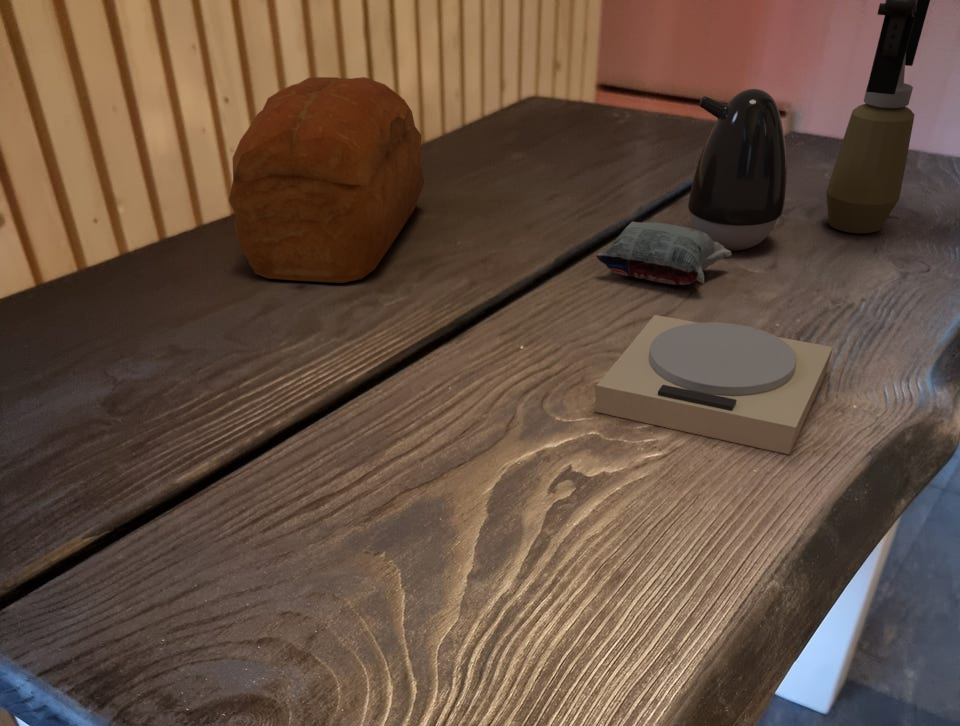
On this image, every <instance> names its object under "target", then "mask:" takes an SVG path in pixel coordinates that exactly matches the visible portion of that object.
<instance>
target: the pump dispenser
mask: <svg viewBox="0 0 960 726" xmlns="http://www.w3.org/2000/svg"><path fill="white" fill-rule="evenodd" d="M699 107H700V108H701V109H703V110H705V111H706V112H707V113H709V114H710V115H712V116H714V117H715V118H717V120H716V122H715V124H714V125H713V127H712V129H711V131H710V133H709V135H708V138H707V139H706V142H705V144H704V147H703V149H702V151H701V154H700V157H699V160H698V163H697V166H696V169H695V173H694V176H693V180H692V184H691V188H690V192H689V196H688V204H687V205H688V207H687V209H688V211H689V212H690V220H691V224H692V227H693V228H692V229H695V230H698V231H700V232H703V233H706V234H708V236H709V237H710V238H711V239H712V241H713V242H718V243H719V244H721V245H722V246H724V248H725V249H727V250H729V251H731V252H732V251H735V252H736V251H742V250H743V251H744V250H747V249H750V248H753V247H755V246H756V245H759V244H760V243H762V242H763V241H764V240H765V239H766V238H767V237H768V236H769V235H770V234H771V232H772V231H773V229H774V227H775V226H776V224H777V221H778V219H779V218H780V217H781V216H782V215H783V211H784V207H785V202H786V201H785V200H786V189H787V174H788V172H787V171H788V169H787V165H788V164H787V163H788V162H787V161H788V160H787V147H786V140H785V139H786V138H785V131H784V126H783V121H782V118H781V113H780V110H779V108H778V104H777V102H776V101H775V99H774V98H773V96H771V94H769V92H767V91H764V90H762V89H759V88H748V89H745V90H742V91H740V92H738V93H737V94H736V95H734V96H733V97H732V98H731V99H730V101H729V102H728V103H727V104H725V103H724V102H720V101H718V100H716V99H714V98H712V97H708V96H707V95H704V96H702V97H701V99H700V102H699Z"/></svg>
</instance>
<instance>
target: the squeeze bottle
mask: <svg viewBox="0 0 960 726" xmlns="http://www.w3.org/2000/svg"><path fill="white" fill-rule="evenodd" d="M905 60H906V54H905V57H904V61H903V65H902V69H901V72H900V76H899V80H898V84H897V88H896V91H895V94H894V95H893V94H883V93H873V92H866V90H867V88H866V89H865V94H864V98H863V102H864V103H863V104H860V105H858V106H857V107H855V108H854V109H852V111H851V114H850V117H849V121H848V123H847V126H846V130H845V133H844V135H843V139H842V142H841V145H840V148H839V151H838V154H837V157H836V160H835V163H834V166H833V170H832V172H831V175H830V178H829V181H828V184H827V187H826V190H825V194H826V207H827V218H828V219H827V220H828V224H829V225H830V227H831V228H834V229H835V230H837V231H841V232H845V233H852V234H871V233H876V232H878V231H880V230H881V229H882V228H883V226H884V224H885V223H886V222H887V220H888V218H889V216H890V215H891V213H892V211H893V210H894V208H895V207H896V205H897V204H898V202H899V200H900V198H901V192H902V187H903V181H904V175H905V170H906V165H907V160H908V154H909V148H910V142H911V136H912V132H913V127H914V121H915V113H914V112H913V110H912V109H910V108H909V107H908V106H909V104H910V101H911V97H912V93H913V89H914V86H912V85H911V84H908V83H905V73H906V65H905ZM867 86H868V84H867ZM867 86H866V87H867Z"/></svg>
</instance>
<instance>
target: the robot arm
mask: <svg viewBox="0 0 960 726" xmlns="http://www.w3.org/2000/svg"><path fill="white" fill-rule="evenodd" d="M930 3H931V0H885V2H880V3H879V6H878V10H877V15H878V16H884V17H883V21H882V25H881V29H880V33H879V37H878V41H877V45H876V50H875V54H874V58H873V61H872V66H871V71H870V75H869V79H868V83H867V85H868V86H866V89H867V90H866V89H865V93H866V92H873V93H883V94H893V95H894V94H895V91H896V88H897V84H898V80H899V76H900V72H901V69H902V65H903V61H904V57H905V54H906V60H905V67H906V66H908V67H912V66H913V65H914V62H915V58H916V55H917V50H918V47H919V43H920V40H921V36H922V33H923V28H924V24H925V21H926V18H927V15H928V14H927V13H928V10H929V6H930Z"/></svg>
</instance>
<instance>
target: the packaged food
mask: <svg viewBox="0 0 960 726" xmlns="http://www.w3.org/2000/svg"><path fill="white" fill-rule="evenodd" d="M732 254H733V253H732V251H731V250H727V249H725V248H724V246H722V245H721V244H719V243H718V242H713V241H712V239H711V238H710V237H709V236H708V234H706V233H703V232H700V231H698V230H695V229H694V228H692V227H689V226H688V227H687V226H682V225H678V224H671V223H665V222H662V221H643V222H638V221H631V222H630V223H629V224H628V225H627V226H626V227H625V228H624V229H623V231H622V232H621V233H620V234H619V235H618V236H617V237H616V239H615V240H614V241H613V242H612V243H611V244H610V245H609V246H608V247H606V248H604V249H603V250H602V251H600V252H599V253H597V254H596V255H595V257H596V258H597V260H598V261H599V262H601V263H602V264H604V265H605V266H606V267H607V268H608V269H609V271H611V272H612V273H614V274H616V275H620V276H625V277H629V278H630V277H631V278H635V279H640V280H646V281H649V282H655V283H659V284H667V285H673V286H686V285H690V284H692V283H693V282H695V281H698V282H699V283H701V284H703V285H704V284H705V274H704V272H703V271H704V270H706V269H707V268H708V267H710V266H712V265H714V264H715V263H717V262H718V261H721V260H722V259H723V258H728V257H731V256H733V255H732Z"/></svg>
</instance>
